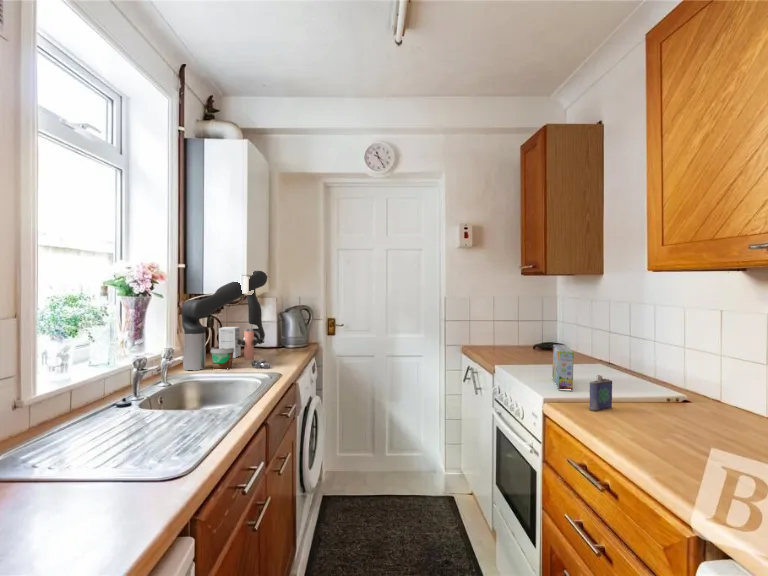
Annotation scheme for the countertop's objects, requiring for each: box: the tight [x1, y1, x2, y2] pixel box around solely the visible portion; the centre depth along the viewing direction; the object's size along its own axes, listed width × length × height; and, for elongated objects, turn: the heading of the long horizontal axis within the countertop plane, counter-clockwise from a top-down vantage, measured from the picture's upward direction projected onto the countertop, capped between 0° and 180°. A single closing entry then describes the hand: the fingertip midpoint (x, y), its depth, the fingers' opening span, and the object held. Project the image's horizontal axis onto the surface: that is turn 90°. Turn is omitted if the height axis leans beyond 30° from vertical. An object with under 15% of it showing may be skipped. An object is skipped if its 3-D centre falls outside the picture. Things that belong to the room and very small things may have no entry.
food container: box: [209, 346, 234, 370], centre depth 198 cm, size 12×6×10 cm, turn 73°
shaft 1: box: [251, 358, 266, 367], centre depth 207 cm, size 7×3×3 cm, turn 156°
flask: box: [589, 374, 613, 412], centre depth 131 cm, size 9×3×11 cm, turn 115°
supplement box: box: [218, 326, 242, 359], centre depth 233 cm, size 10×9×17 cm
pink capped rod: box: [243, 328, 255, 361], centre depth 201 cm, size 4×4×15 cm
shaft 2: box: [254, 362, 271, 370], centre depth 200 cm, size 7×3×3 cm, turn 81°
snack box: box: [552, 344, 575, 390], centre depth 164 cm, size 21×6×15 cm, turn 164°
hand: (248, 343), depth 198 cm, fingers closed on pink capped rod, 4 cm apart
